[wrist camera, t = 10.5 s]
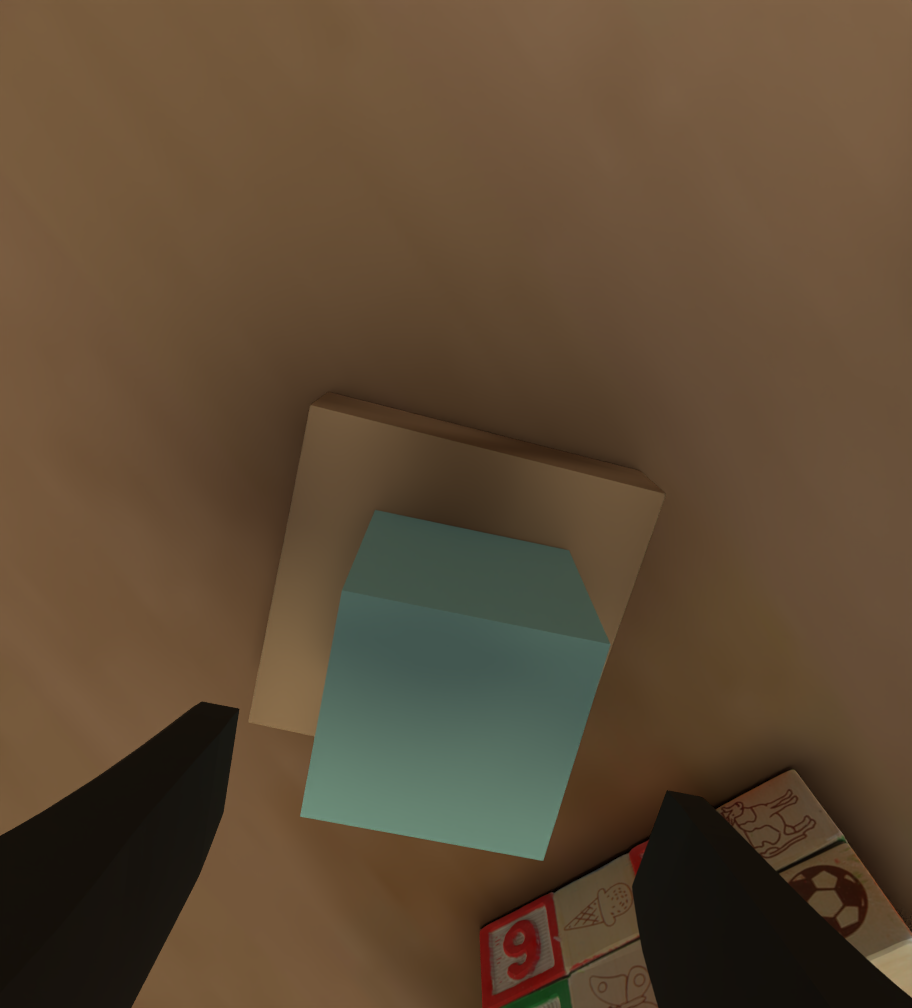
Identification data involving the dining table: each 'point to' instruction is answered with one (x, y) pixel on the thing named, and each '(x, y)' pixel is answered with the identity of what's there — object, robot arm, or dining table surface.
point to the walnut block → (437, 498)
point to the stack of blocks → (613, 925)
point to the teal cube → (455, 688)
